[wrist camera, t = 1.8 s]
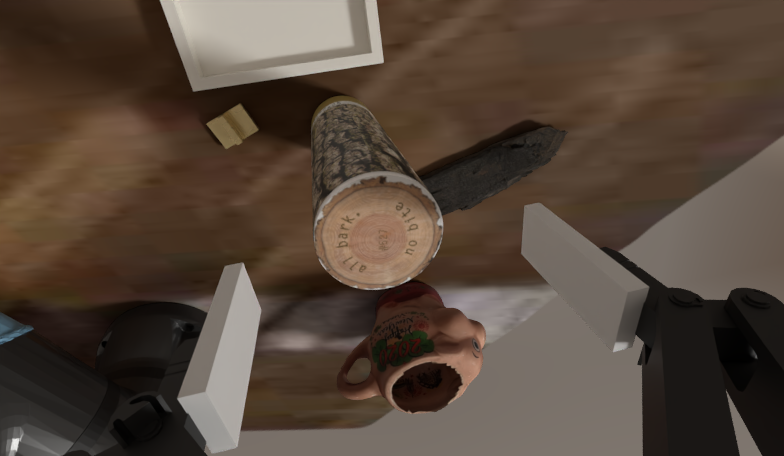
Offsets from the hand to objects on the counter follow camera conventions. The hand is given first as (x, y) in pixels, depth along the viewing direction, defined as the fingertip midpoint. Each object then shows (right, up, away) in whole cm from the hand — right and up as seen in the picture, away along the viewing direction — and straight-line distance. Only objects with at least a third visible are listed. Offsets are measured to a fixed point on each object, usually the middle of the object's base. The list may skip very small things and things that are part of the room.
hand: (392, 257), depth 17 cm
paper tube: (-6, +13, +24) cm, 27 cm away
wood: (+11, +8, +30) cm, 33 cm away
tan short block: (-16, +12, +22) cm, 30 cm away
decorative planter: (+1, -11, +38) cm, 39 cm away
